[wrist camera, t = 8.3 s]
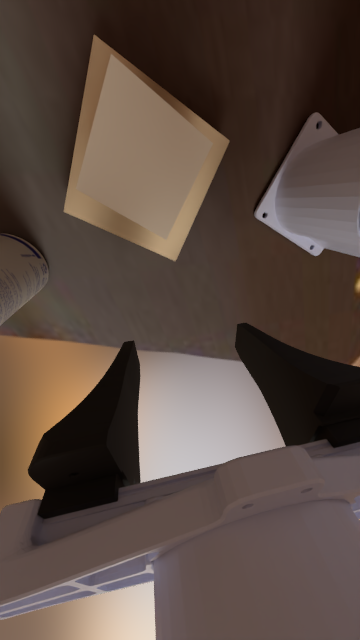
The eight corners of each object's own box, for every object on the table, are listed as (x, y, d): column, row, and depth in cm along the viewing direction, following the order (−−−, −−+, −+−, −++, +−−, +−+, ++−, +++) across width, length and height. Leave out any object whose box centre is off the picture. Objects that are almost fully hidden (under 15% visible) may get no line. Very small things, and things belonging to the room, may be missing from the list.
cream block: (190, 161, 14) (213, 143, 9) (159, 229, 16) (166, 239, 11) (121, 106, 12) (111, 53, 7) (95, 192, 14) (75, 188, 9)
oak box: (215, 150, 16) (229, 140, 13) (171, 253, 20) (175, 261, 17) (103, 67, 13) (94, 34, 10) (75, 209, 16) (63, 211, 14)
